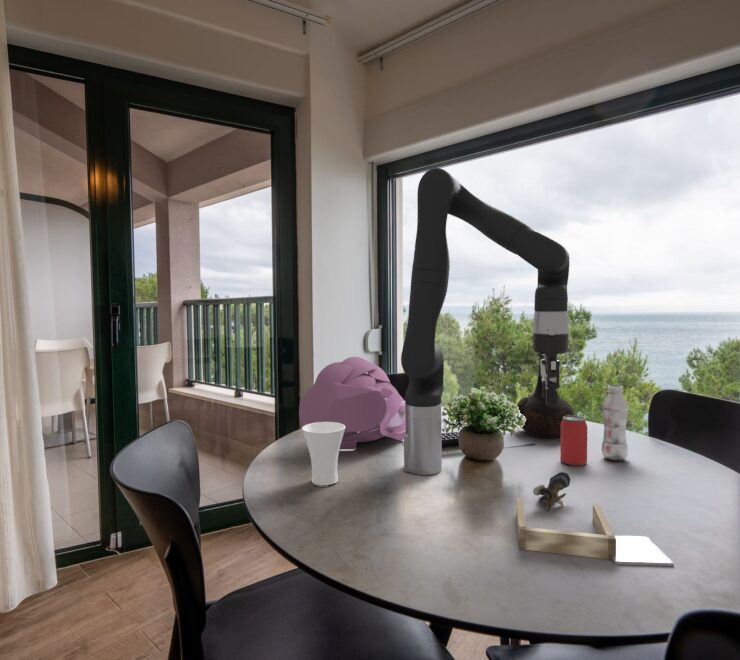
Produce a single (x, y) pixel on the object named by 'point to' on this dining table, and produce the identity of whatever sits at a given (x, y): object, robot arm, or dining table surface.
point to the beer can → (573, 441)
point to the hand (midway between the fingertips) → (549, 402)
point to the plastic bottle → (615, 424)
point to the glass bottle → (543, 412)
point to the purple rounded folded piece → (355, 402)
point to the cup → (324, 450)
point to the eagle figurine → (553, 489)
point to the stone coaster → (639, 552)
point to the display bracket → (568, 537)
